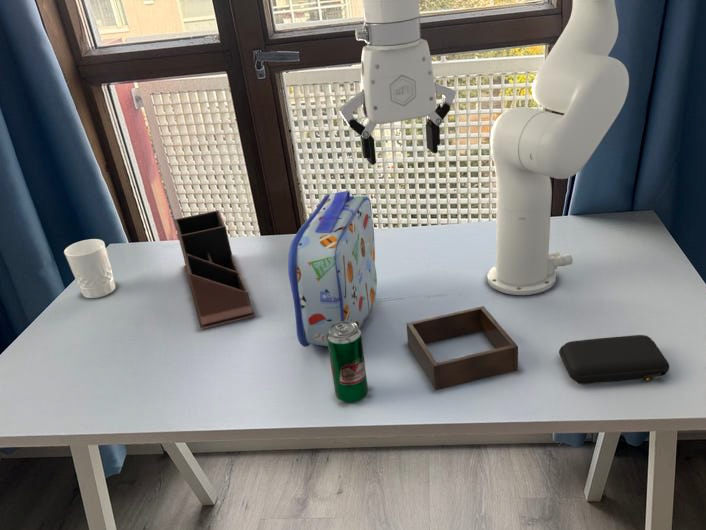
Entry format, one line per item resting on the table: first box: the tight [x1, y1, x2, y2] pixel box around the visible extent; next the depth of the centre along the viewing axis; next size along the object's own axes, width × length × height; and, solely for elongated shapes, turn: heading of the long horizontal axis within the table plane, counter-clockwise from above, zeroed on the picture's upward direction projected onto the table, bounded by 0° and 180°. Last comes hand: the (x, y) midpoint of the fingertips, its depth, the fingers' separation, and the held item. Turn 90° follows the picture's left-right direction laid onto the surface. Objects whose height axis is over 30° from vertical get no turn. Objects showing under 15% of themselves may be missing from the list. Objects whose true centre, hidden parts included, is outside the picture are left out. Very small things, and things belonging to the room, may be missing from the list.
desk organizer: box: [173, 209, 257, 330], centre depth 139 cm, size 10×29×11 cm, turn 18°
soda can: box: [327, 321, 369, 404], centre depth 105 cm, size 5×5×12 cm
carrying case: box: [558, 334, 670, 385], centre depth 106 cm, size 11×3×15 cm
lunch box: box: [287, 190, 378, 348], centre depth 121 cm, size 28×10×22 cm, turn 168°
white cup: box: [63, 238, 116, 299], centre depth 144 cm, size 8×8×10 cm
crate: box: [405, 305, 519, 391], centre depth 112 cm, size 14×14×4 cm
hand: (402, 156), depth 106 cm, fingers open, 9 cm apart
